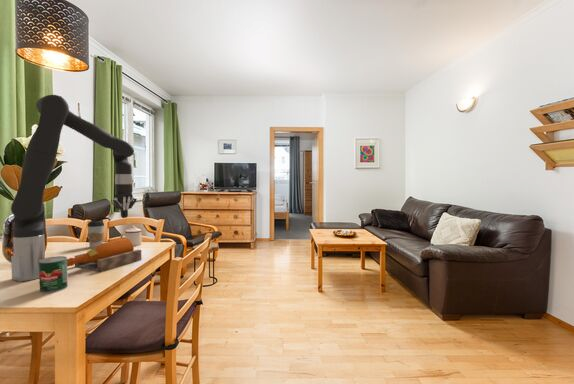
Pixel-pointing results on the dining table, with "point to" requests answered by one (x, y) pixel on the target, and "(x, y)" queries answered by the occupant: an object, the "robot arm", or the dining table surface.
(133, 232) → the teacup with lid
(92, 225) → the coffee cup
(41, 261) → the canned tomato
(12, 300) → the dining table surface
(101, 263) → the u rest
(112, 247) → the wine bottle
